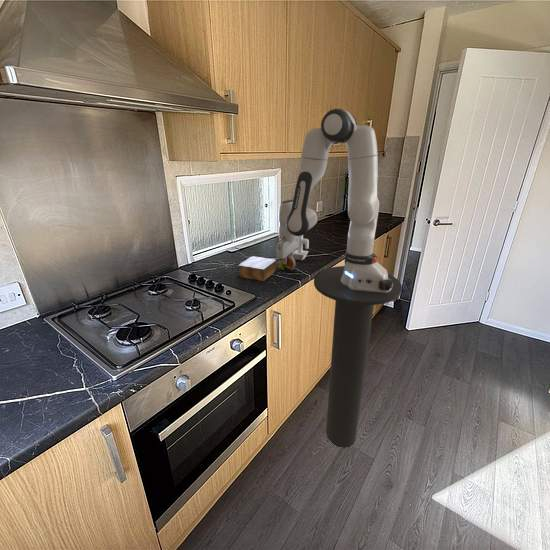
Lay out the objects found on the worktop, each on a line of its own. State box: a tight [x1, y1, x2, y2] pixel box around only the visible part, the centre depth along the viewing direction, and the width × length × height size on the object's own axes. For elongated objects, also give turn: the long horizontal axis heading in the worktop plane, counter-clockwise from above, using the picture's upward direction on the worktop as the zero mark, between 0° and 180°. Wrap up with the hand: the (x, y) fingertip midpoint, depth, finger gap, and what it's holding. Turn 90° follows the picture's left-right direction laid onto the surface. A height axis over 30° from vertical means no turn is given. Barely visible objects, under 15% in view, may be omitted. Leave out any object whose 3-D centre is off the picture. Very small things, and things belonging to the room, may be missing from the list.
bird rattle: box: [278, 252, 297, 272], centre depth 145 cm, size 6×11×9 cm
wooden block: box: [237, 255, 277, 282], centre depth 141 cm, size 14×14×6 cm
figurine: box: [293, 234, 310, 261], centre depth 158 cm, size 7×9×15 cm
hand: (287, 261), depth 145 cm, fingers open, 5 cm apart
